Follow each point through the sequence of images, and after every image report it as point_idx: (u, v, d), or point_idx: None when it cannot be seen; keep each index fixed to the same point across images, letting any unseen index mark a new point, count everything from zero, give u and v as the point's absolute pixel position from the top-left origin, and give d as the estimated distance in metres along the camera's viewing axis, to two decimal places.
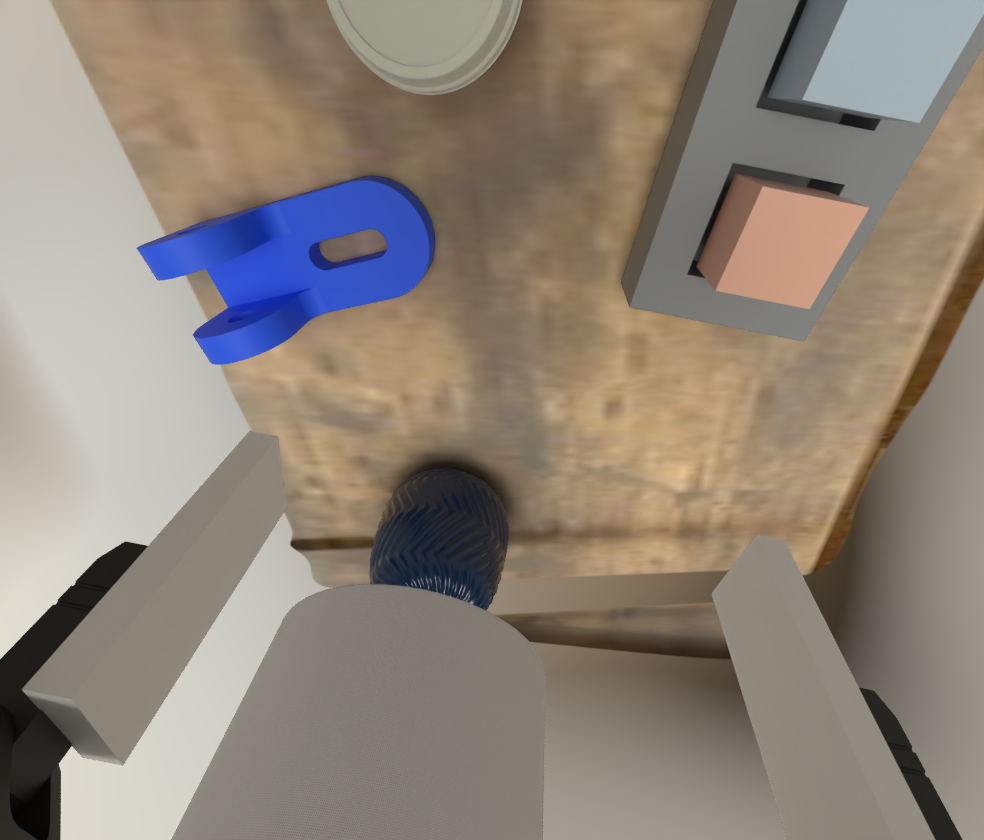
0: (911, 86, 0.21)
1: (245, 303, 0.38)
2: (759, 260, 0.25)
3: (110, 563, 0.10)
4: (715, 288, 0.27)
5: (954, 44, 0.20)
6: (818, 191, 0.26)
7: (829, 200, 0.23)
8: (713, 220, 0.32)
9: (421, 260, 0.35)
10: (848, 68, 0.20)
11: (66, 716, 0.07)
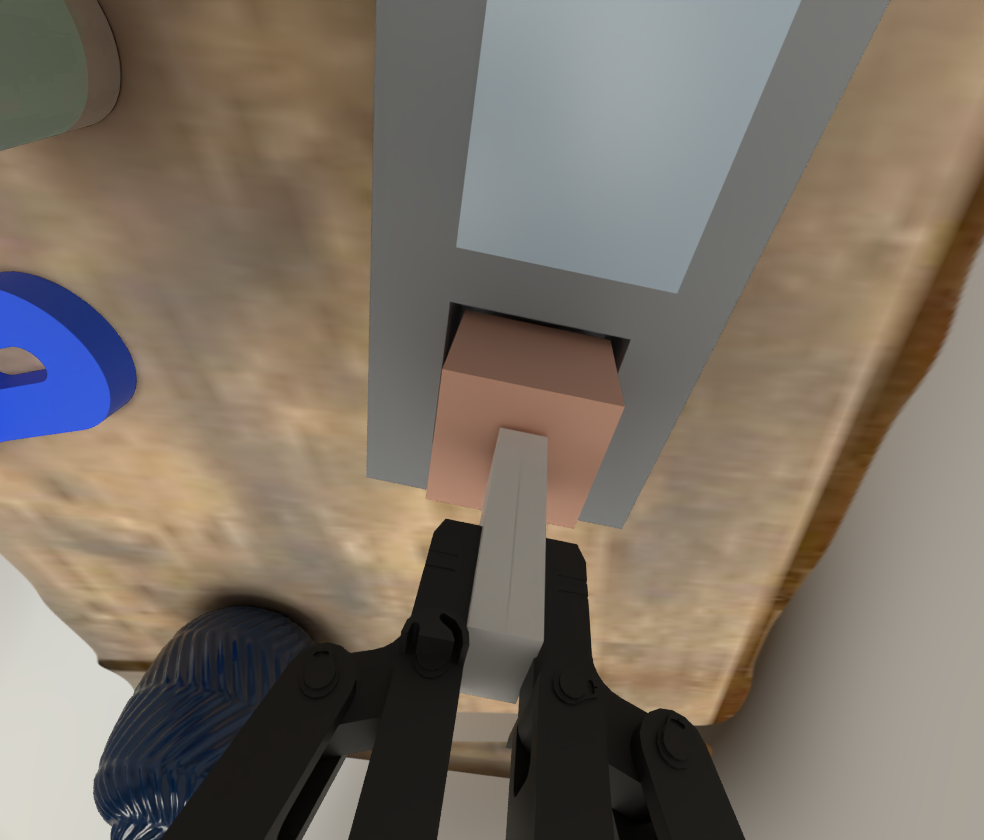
0: (647, 233, 0.11)
1: None
2: (476, 466, 0.16)
3: (445, 535, 0.12)
4: None
5: (710, 162, 0.10)
6: (582, 348, 0.16)
7: (556, 393, 0.14)
8: None
9: (100, 388, 0.24)
10: (520, 197, 0.10)
11: (482, 650, 0.10)
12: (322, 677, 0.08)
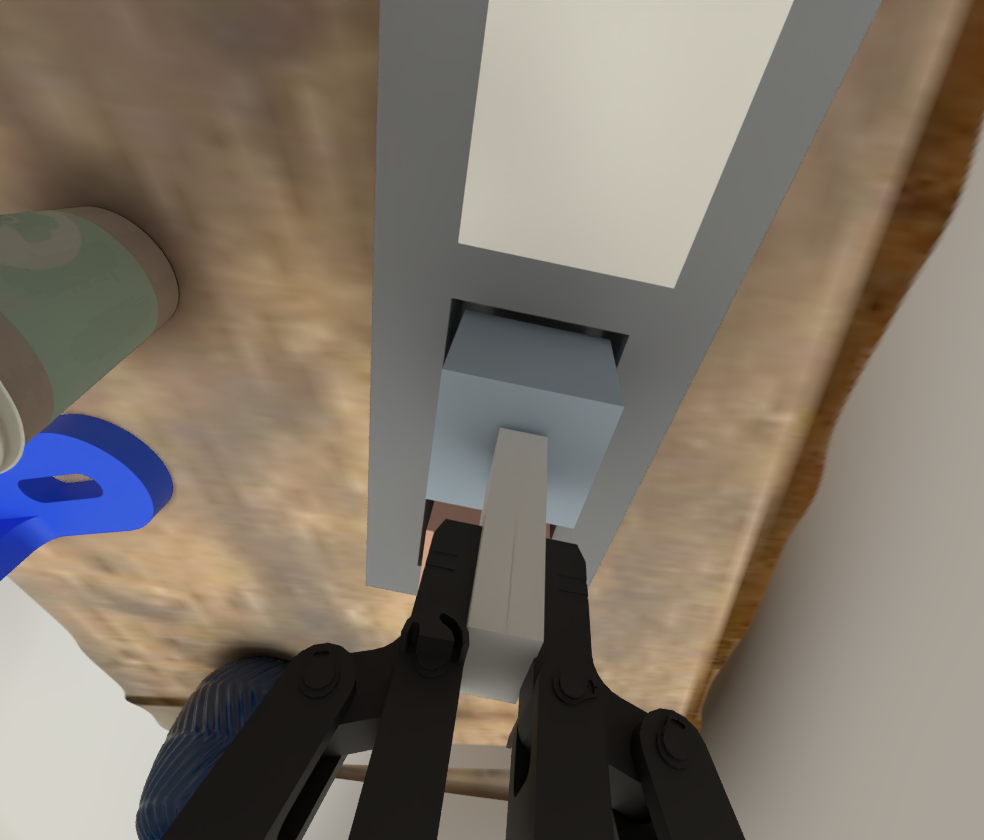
0: (550, 499, 0.16)
1: None
2: None
3: (445, 535, 0.12)
4: None
5: (583, 470, 0.15)
6: None
7: None
8: None
9: (145, 503, 0.30)
10: (466, 478, 0.16)
11: (482, 650, 0.10)
12: (322, 677, 0.08)
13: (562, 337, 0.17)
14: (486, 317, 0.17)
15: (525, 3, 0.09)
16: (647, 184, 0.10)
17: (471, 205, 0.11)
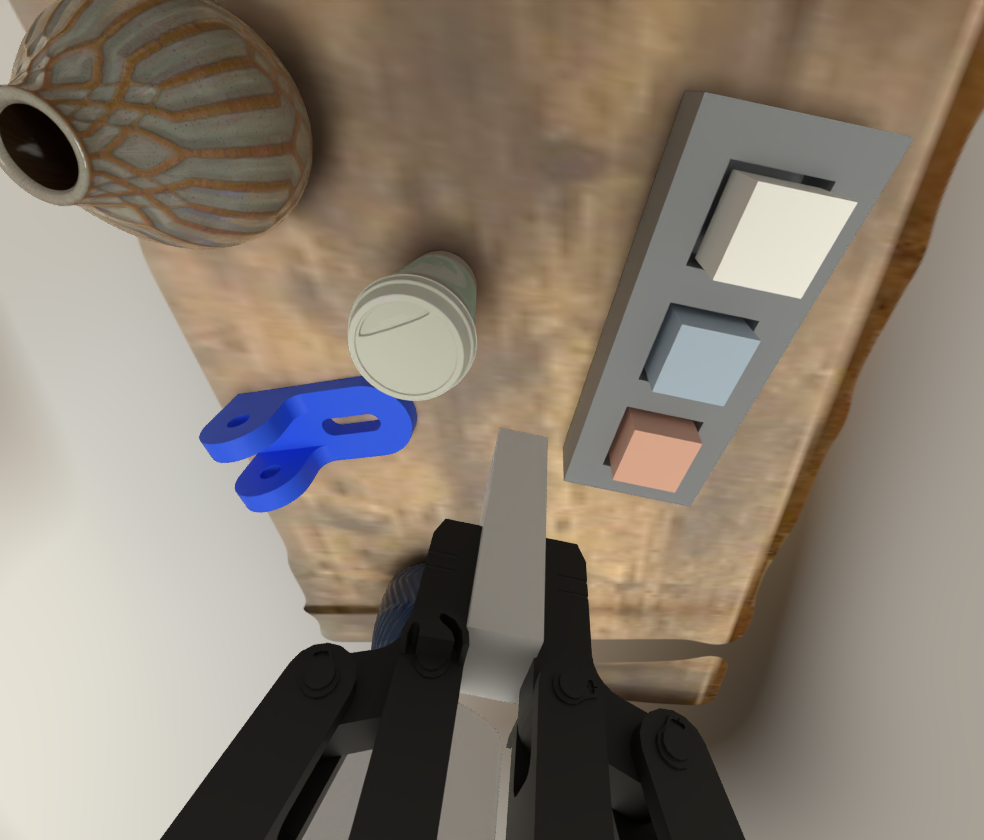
0: (715, 389, 0.34)
1: (271, 451, 0.50)
2: (638, 466, 0.39)
3: (445, 535, 0.12)
4: (612, 478, 0.40)
5: (735, 373, 0.33)
6: (679, 417, 0.39)
7: (677, 439, 0.37)
8: None
9: (406, 434, 0.47)
10: (676, 379, 0.34)
11: (482, 650, 0.10)
12: (322, 677, 0.08)
13: (718, 313, 0.35)
14: None
15: (763, 200, 0.25)
16: (796, 259, 0.27)
17: (722, 265, 0.28)
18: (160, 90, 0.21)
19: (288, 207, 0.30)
